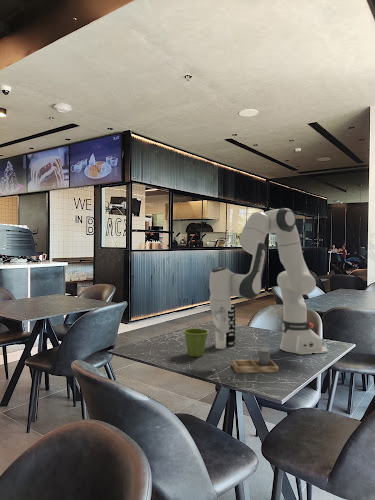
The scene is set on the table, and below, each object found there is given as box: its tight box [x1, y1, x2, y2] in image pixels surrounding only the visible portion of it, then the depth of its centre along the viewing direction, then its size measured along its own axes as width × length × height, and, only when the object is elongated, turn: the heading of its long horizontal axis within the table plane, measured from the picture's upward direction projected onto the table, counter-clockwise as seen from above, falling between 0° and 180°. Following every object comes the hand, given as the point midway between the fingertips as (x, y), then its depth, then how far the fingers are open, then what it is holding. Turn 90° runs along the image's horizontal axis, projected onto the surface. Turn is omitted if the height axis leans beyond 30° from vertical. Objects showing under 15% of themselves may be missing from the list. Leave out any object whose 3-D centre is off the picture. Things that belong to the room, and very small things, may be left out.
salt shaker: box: [214, 327, 227, 350], centre depth 158 cm, size 4×4×8 cm
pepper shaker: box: [258, 347, 271, 367], centre depth 155 cm, size 4×4×8 cm
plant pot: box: [183, 327, 209, 358], centre depth 176 cm, size 12×12×11 cm
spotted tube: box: [226, 304, 237, 348], centre depth 195 cm, size 8×8×20 cm
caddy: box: [231, 359, 280, 374], centre depth 155 cm, size 17×10×3 cm, turn 94°
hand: (220, 338), depth 158 cm, fingers closed on salt shaker, 4 cm apart
